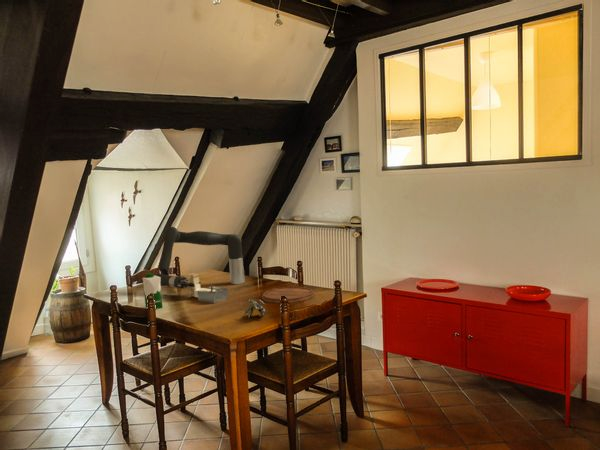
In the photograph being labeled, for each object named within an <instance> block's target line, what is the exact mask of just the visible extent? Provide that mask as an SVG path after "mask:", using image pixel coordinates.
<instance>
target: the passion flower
mask: <svg viewBox="0 0 600 450" xmlns="http://www.w3.org/2000/svg"><path fill="white" fill-rule="evenodd" d="M258 301H260V303H258V302H257V301H255V300H253V299H249V300H248V303H249V304H250V306H249V307H248V308H246V309H245V308H244V307H243V306H241V309H240V310H241V311H243V310H244V314H243V316H244V317H245V315H246V314H248V317H247V319H249V318H250V316H252V314H253V313H254V311H256V310H257V312H260V315H261V317H265V315H264V314H266V309H265V308H264V307H263V306H262V305H266V304H265V303H264V302H265V301H263V300H262V299H259V300H258ZM261 304H262V305H261Z"/></svg>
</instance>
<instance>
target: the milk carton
mask: <svg viewBox="0 0 600 450" xmlns="http://www.w3.org/2000/svg"><path fill="white" fill-rule="evenodd" d="M160 279H161V277H159V276H154V273H153V272H148V273H147V272H146V273H145V277H142V282H143V293H144V303H145V308H146V307H147V296H148V295H149V294H153V295H154V300H155V305H156V309H155V310H158V309H163V308H162V307H163V298H162V288H161V287H162V286H161V285H160ZM157 308H158V309H157Z"/></svg>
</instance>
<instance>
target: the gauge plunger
mask: <svg viewBox="0 0 600 450" xmlns="http://www.w3.org/2000/svg"><path fill="white" fill-rule="evenodd" d="M210 287H211V289H209V288H206V287H201V285H200V284H197V285H195V287H194V296H193V297H194V298H198V290H204V291H212V292H215V291H217V290H215V289H213V283H210Z"/></svg>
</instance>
